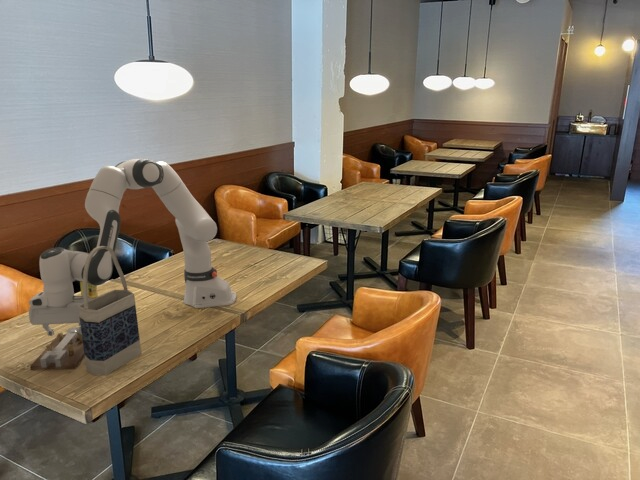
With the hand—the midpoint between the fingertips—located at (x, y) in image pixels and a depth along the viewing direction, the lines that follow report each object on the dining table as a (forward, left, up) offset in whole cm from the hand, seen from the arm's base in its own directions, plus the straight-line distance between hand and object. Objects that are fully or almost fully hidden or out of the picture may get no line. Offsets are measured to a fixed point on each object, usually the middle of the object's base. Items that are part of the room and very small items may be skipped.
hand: (65, 334), depth 171 cm
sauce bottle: (+7, -44, -7) cm, 45 cm away
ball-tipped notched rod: (0, 0, -5) cm, 5 cm away
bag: (-18, +8, -7) cm, 20 cm away
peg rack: (0, 0, -7) cm, 7 cm away
